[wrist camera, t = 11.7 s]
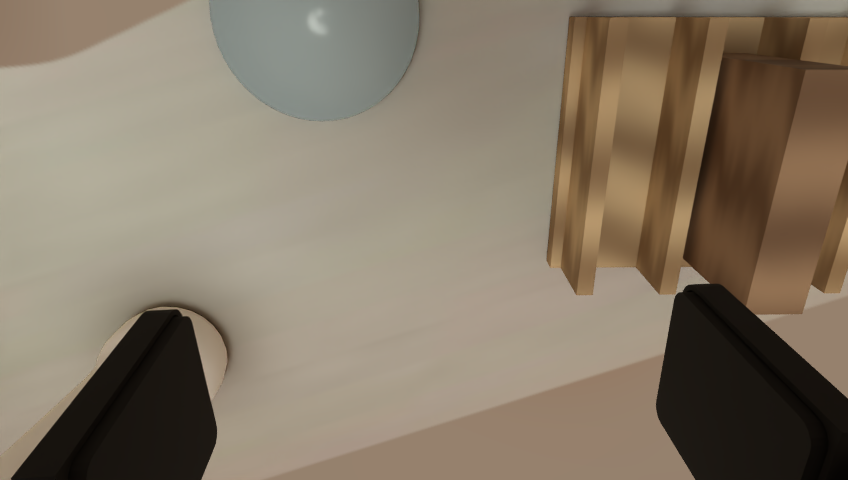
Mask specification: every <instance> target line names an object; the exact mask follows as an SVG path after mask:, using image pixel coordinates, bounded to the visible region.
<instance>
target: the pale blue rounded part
mask: <svg viewBox="0 0 848 480" xmlns="http://www.w3.org/2000/svg"><path fill="white" fill-rule="evenodd" d="M209 5H210V17H211V22H212V27H213V32H214V35H215V38H216V41H217V44H218V47H219V49H220V51H221V53H222V55H223V58H224V60H225V61H226V63H227V64H228V66H229V68H230V69H231V71H232V72H233V74H234V75H235V76H236V78H237V79H238V80H239V81H240V83H241V84H242V85H243V86H244V87H245V88H246V89H247V90H248V91H249V92H250V93H252V94H253V95H254V96H255V97H256V98H258V99H259V100H260V101H262V102H263V103H265V104H266V105H268V106H270V107H271V108H273V109H275V110H277V111H279V112H281V113H284V114H286V115H289V116H292V117H295V118H299V119H305V120H310V121H333V120H339V119H344V118H348V117H351V116H354V115H357V114H360V113H362V112H364V111H366V110H368V109H369V108H371V107H373V106H374V105H376V104H377V103H378V102H380V101H381V100H382V99H383V98H384V97H386V96H387V95H388V94H389V93H390V92H391V91H392V90H393V88H394V87H395V86H396V85H397V84H398V82H399V81H400V79H401V78H402V76H403V75H404V73H405V71H406V70H407V67H408V65H409V63H410V61H411V59H412V56H413V53H414V50H415V46H416V42H417V36H418V31H419V3H418V0H209Z"/></svg>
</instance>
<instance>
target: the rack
mask: <svg viewBox="0 0 848 480" xmlns="http://www.w3.org/2000/svg"><path fill="white" fill-rule="evenodd" d="M723 53H749V54H756V55H764V56H772V57H780V58H788V59H796V60H803V61H811V62H819V63H827V64H835V65H842V66H848V17H570V18H569V29H568V39H567V50H566V61H565V71H564V82H563V92H562V103H561V113H560V124H559V135H558V145H557V156H556V166H555V177H554V188H553V198H552V209H551V219H550V230H549V241H548V251H547V262H548V264H549V266H550V268H561V269H562V271H563V273H564V274H565V276H566V278H567V279H568V281H569V283H570V285H571V286H572V288H573V290H574V292H575V293H576V295H593V287H594V280H595V272H596V267H636V268H637V269H638V270H639V272H640V273H641V274H642V275H643V276H644V277H645V278H646V280H647V281H648V282H649V283H650V284H651V285H652V286H653V288H654V289H655V290H656V291H657V292H658V293H659V294H676V289H677V284H678V279H679V273H680V268H681V267H692V266H690V265H689V264H688V263H687V262H686V261H685V260H684V259H683V253H684V248H685V243H686V238H687V233H688V228H689V223H690V217H691V212H692V207H693V202H694V197H695V192H696V187H697V182H698V177H699V172H700V167H701V161H702V156H703V151H704V146H705V141H706V136H707V131H708V126H709V121H710V116H711V111H712V105H713V100H714V95H715V90H716V85H717V80H718V75H719V70H720V65H721V60H722V55H723ZM847 269H848V161H847V165H846V168H845V172H844V175H843V178H842V182H841V185H840V188H839V192H838V195H837V198H836V202H835V205H834V208H833V212H832V215H831V219H830V222H829V225H828V229H827V232H826V235H825V239H824V242H823V245H822V249H821V252H820V255H819V259H818V262H817V266H816V269H815V272H814V276H813V279H812V282H811V285H813V286H814V287H816V288H817V289H819V290H820V291H822V292H823V293H840V291H841V288H842V285H843V282H844V279H845V275H846V272H847Z"/></svg>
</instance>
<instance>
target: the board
mask: <svg viewBox="0 0 848 480" xmlns="http://www.w3.org/2000/svg"><path fill="white" fill-rule="evenodd" d="M847 161H848V66H842V65H835V64H827V63H819V62H811V61H803V60H796V59H788V58H780V57H772V56H764V55H756V54H749V53H723V55H722V60H721V65H720V70H719V75H718V80H717V85H716V90H715V95H714V100H713V105H712V111H711V116H710V121H709V126H708V131H707V136H706V141H705V146H704V151H703V156H702V161H701V167H700V172H699V177H698V182H697V187H696V192H695V197H694V202H693V207H692V212H691V217H690V223H689V228H688V233H687V238H686V243H685V248H684V253H683V259H684V260H685V261H686V262H687V263H688V264H689V265H690V266H692V267H693V268H694V269H695V270H696V271H697V272H698V273H699V274H700V275H701V276H702V277H704V278H705V279H706V280H707V281H708V282H709V283H710V284H715V283H717V284H721V285H722V286H724V287H725V288H726V289H727V290H728V291H729V292H730V293H732V294H733V295H734V296H735V297H736V298H737V299H738V300H739V301H740V302H741V303H743V304H744V305H745V306H746V307H747V308H748V309H749V310H750V311H751V312H753V313H754V314H802V312H803V309H804V306H805V302H806V299H807V296H808V292H809V289H810V286H811V282H812V279H813V276H814V272H815V269H816V266H817V262H818V259H819V255H820V252H821V249H822V245H823V242H824V239H825V235H826V232H827V229H828V225H829V222H830V219H831V215H832V212H833V208H834V205H835V202H836V198H837V195H838V192H839V188H840V185H841V182H842V178H843V175H844V172H845V168H846V165H847Z"/></svg>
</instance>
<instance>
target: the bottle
mask: <svg viewBox="0 0 848 480" xmlns="http://www.w3.org/2000/svg"><path fill="white" fill-rule="evenodd" d="M169 309H177V310H179V311H180V312H181V314H182V316H188V317H190V319H191V320H192V323H193V327H194V332H195V336H196V340H197V344H198V349H199V353H200V357H201V361H202V366H203V370H204V374H205V378H206V383H207V387H208V391H209V395H210V400H211V401H212V400H213V398H214V396H215V395H216V393H217V391H218V389H219V387H220V386H221V384H222V382H223V378H224V374H225V370H226V365H227V350H226V347H225V345H224V342H223V340H222V337H221V335H220V334H219V332H218V331H217V330H216V328H215V327H214V326H213V325H212V324H211V323H210V322H209V321H207V320H206V319H205V318H204V317H202V316H200V315H198V314H196V313H194V312H192V311H190V310H186V309H182V308H179V307H158V308H153V309H148V310H169ZM148 310H146V311H148ZM144 312H145V311H144ZM142 313H143V312H142ZM142 313H140V314H138V315H136V316H134V317H133V318H131V319H129V320H128V321H126V322H125V323H124V324H123V325H122V326H121V327H120V328H119V329H118V330H117V331H116V332H115V333H114V334H113V335H112V336H111V337H110V338H109V339H108V340H107V341H106V342H105V344H104V346H103V348H102V350H101V352H100V354H99V356H98V358H97V360H96V367H95V369H94V370H93V371H92V372H91V373H90V374H89V375H88V376H87V377H86V378H85V379H84V380H83V381H82V382H81V383H80V384H79V385H78V386H77V387H76V388H74V389H73V390H72V391H71V392H70V393H69V394H68V395H67V396H66V397H65V398H64V399H62V400H61V401H60V402H59V403H58V404H57V405H56V406H55V407H54V408H53V409H52V410H50V411H49V412H48V413H47V414H46V415H45V416H44V417H43V418H42V419H41V420H40V421H38V422H37V423H36V424H35V425H34V426H33V427H32V428H31V429H30V430H29V431H28V432H26V433H25V434H24V435H23V436H22V437H21V438H20V439H19V440H18V441H17V442H16V443H14V444H13V445H12V446H11V447H10V448H9V449H8V450H7V451H6V452H5V453H4V454H2V455H1V456H0V480H11V477H12V476H13V475H14V474H15V472H16V471H17V470H18V469H19V467H20V466H21V465H22V464H23V462H24V461H25V460H26V459H27V457H28V456H29V455H30V454H31V452H32V451H33V450H34V449H35V447H36V446H37V445H38V444H39V442H40V441H41V440H42V439H43V437H44V436H45V435H46V433H47V432H48V431H49V430H50V428H51V427H52V426H53V425H54V423H55V422H56V421H57V420H58V418H59V417H60V416H61V415H62V413H63V412H64V411H65V410H66V408H67V407H68V406H69V405H70V403H71V402H72V401H73V400H74V398H75V397H76V396H77V395H78V393H79V392H80V391H81V390H82V388H83V387H84V386H85V385H86V383H87V382H88V381H89V380H90V378H91V377H92V376H93V375H94V373H95V372H96V371H97V370H98V368H99V367H100V366H101V365H102V363H103V362H104V361H105V359H106V358H107V357H108V356H109V354H110V353H111V352H112V351H113V349H114V348H115V347H116V346H117V344H118V343H119V342H120V341H121V339H122V338H123V337H124V336H125V334H126V333H127V332H128V331H129V329H130V328H131V327H132V326H133V324H134V323H135V322H136V321H137V319H138V318H139V317H140V316H141V314H142Z"/></svg>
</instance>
